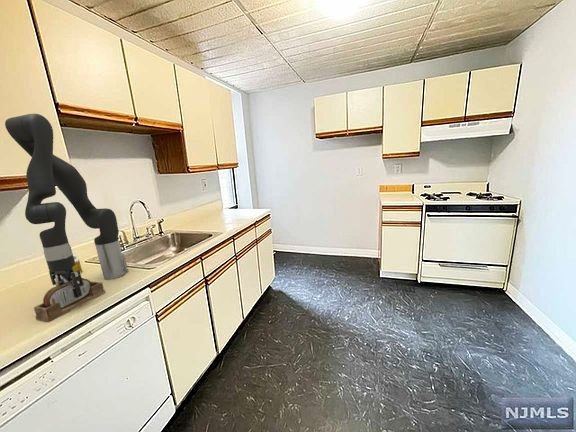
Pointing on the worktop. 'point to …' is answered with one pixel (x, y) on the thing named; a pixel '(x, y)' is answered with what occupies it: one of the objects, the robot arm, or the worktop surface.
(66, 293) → the tin
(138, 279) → the worktop surface
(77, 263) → the supplement bottle
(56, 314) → the rack
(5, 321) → the worktop surface
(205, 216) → the worktop surface
